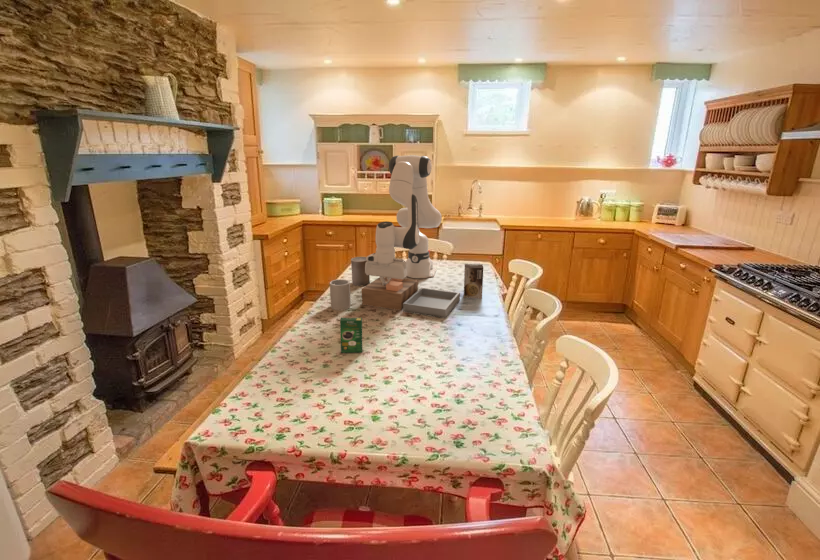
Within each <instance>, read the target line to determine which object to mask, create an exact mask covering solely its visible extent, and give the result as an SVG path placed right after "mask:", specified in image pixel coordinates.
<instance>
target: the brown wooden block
mask: <svg viewBox="0 0 820 560" xmlns="http://www.w3.org/2000/svg"><path fill="white" fill-rule="evenodd" d="M384 280H385V282H387V277H385V278H384ZM401 282H403V288H402V289H400V290H399V291H392V290H386V286H382V281H381V280H380V277H379V276H378V278H376V279H374V280H372V282H371V281H370V283H369V284H367V285H364V286H363V287H362V288H361V305H363V306H369V307H376V308H381V307H382V308H381V309H388V308H389V310H394V309H395V311H403V303H404V302H405V301H407V300H408V299H409V298H410V297H411V296H412V295H414V294H415V293H416V292H417V291H418V290H419V280H418V279H412V278H411V279H409V278H404V279H403V281H401Z"/></svg>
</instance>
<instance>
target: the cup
mask: <svg viewBox="0 0 820 560" xmlns="http://www.w3.org/2000/svg"><path fill="white" fill-rule="evenodd" d="M350 281H351V280H349V279H342V278H341V279H339V278H338V279H333V280H331V281H330V282H329V292H330V293H329V295H330V308H331V310H334V309H335V310H334V311H346V310H348V308H349V309H350V308H351V307H352V305H351V302H352V300H351V282H350ZM345 309H346V310H345Z"/></svg>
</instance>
